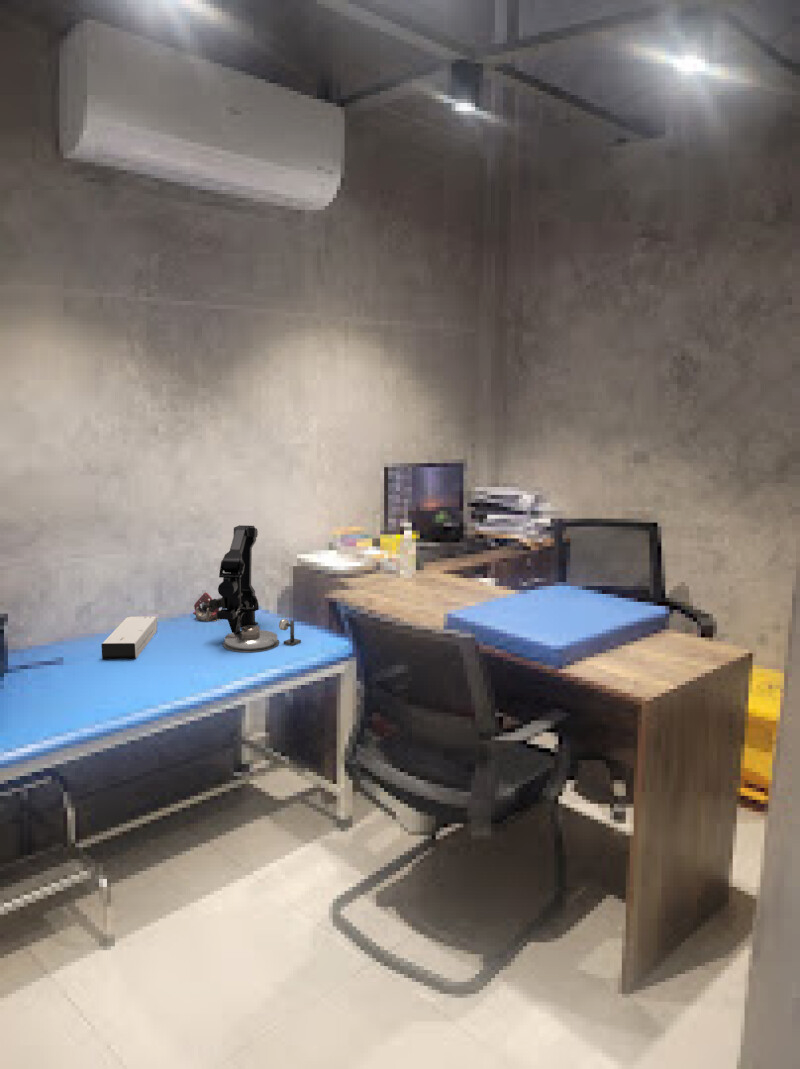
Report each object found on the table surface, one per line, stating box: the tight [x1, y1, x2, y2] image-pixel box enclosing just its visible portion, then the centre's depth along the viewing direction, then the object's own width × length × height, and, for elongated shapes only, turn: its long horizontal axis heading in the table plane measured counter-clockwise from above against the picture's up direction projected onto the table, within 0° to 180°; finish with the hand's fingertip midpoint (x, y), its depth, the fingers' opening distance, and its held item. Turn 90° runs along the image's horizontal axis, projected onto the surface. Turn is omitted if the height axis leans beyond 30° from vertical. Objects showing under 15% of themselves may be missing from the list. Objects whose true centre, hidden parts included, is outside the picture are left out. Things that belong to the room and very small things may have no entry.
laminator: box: [101, 615, 158, 660], centre depth 297 cm, size 34×12×6 cm, turn 4°
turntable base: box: [222, 638, 280, 654], centre depth 300 cm, size 20×20×1 cm
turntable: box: [224, 622, 278, 651], centre depth 300 cm, size 19×19×6 cm
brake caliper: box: [192, 592, 222, 622], centre depth 332 cm, size 11×11×12 cm
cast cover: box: [240, 625, 261, 640], centre depth 299 cm, size 7×7×4 cm
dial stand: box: [278, 618, 302, 647], centre depth 301 cm, size 6×5×9 cm
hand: (233, 632), depth 302 cm, fingers closed
